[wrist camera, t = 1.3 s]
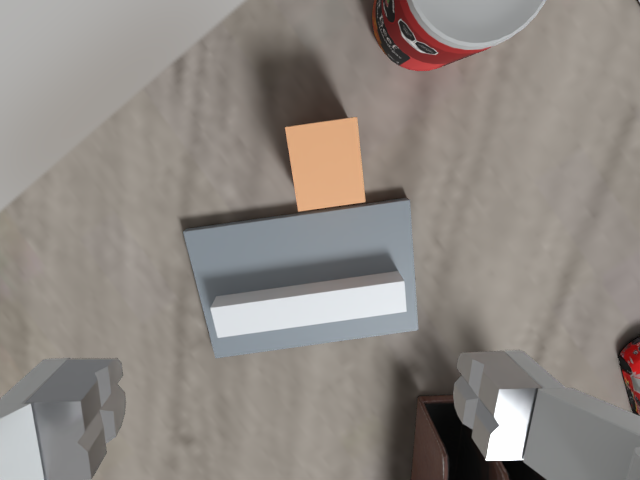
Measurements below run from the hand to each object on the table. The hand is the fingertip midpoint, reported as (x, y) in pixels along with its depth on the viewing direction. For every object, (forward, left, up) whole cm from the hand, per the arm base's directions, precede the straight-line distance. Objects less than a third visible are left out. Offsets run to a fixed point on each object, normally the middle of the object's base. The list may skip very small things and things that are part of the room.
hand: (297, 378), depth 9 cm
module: (-2, -3, -26) cm, 26 cm away
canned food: (-11, -12, -26) cm, 31 cm away
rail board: (+1, +8, -25) cm, 27 cm away
